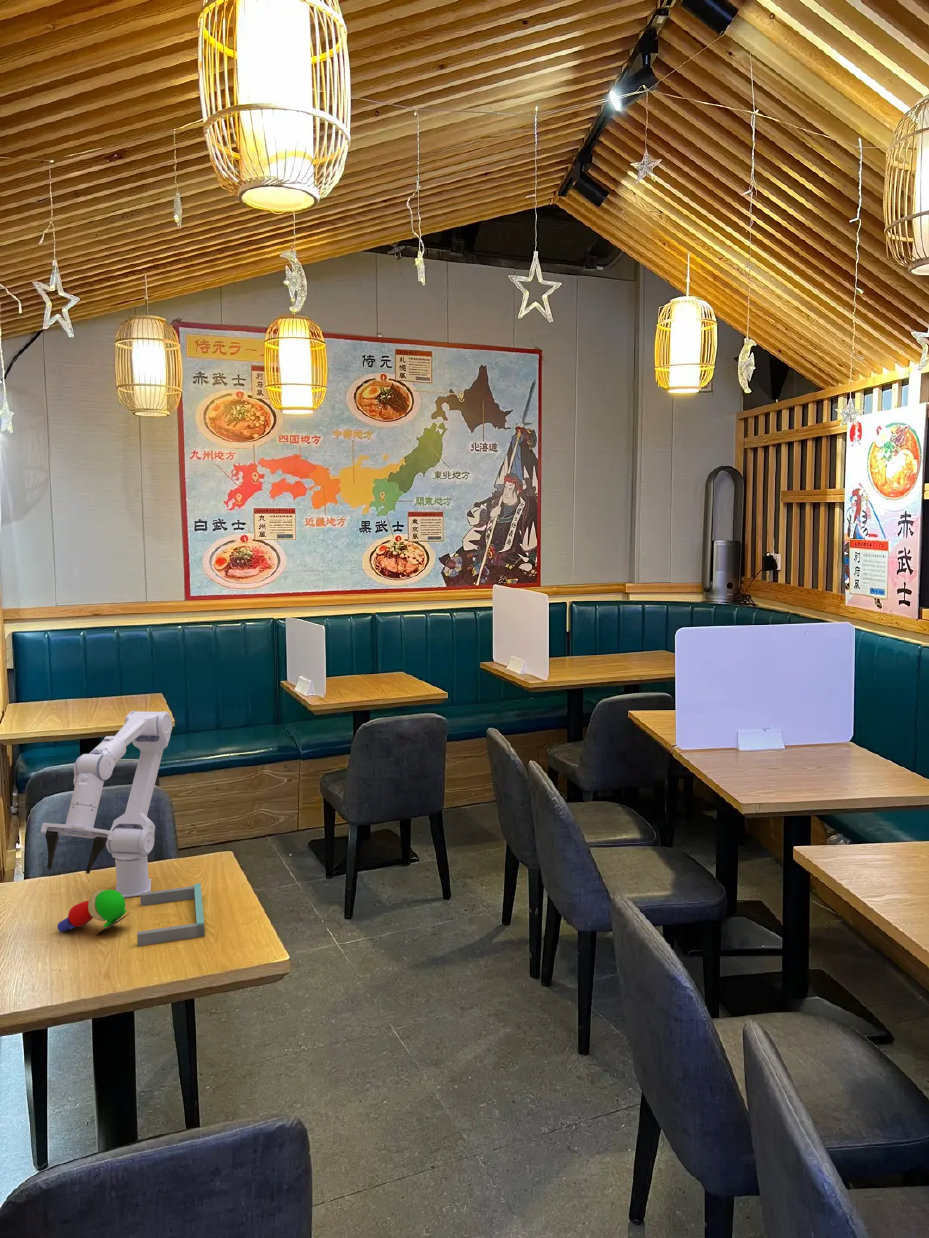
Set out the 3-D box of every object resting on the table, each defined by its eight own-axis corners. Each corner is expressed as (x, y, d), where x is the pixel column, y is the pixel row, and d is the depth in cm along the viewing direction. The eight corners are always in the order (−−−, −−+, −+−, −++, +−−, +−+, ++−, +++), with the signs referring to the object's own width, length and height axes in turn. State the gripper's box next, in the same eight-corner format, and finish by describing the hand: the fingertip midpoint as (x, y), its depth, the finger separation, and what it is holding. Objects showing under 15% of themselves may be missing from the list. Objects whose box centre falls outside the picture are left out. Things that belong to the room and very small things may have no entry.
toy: (66, 952, 194) (118, 922, 191) (47, 920, 194) (99, 890, 191) (90, 935, 202) (140, 906, 199) (72, 904, 203) (122, 875, 199)
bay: (141, 903, 211) (140, 890, 210) (201, 895, 215) (200, 882, 215) (137, 946, 189) (136, 932, 189) (204, 936, 193) (204, 922, 193)
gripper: (47, 799, 192) (30, 864, 187) (118, 808, 196) (104, 872, 191) (49, 805, 199) (33, 868, 193) (118, 814, 203) (104, 876, 197)
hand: (68, 871), depth 192 cm, fingers open, 7 cm apart
